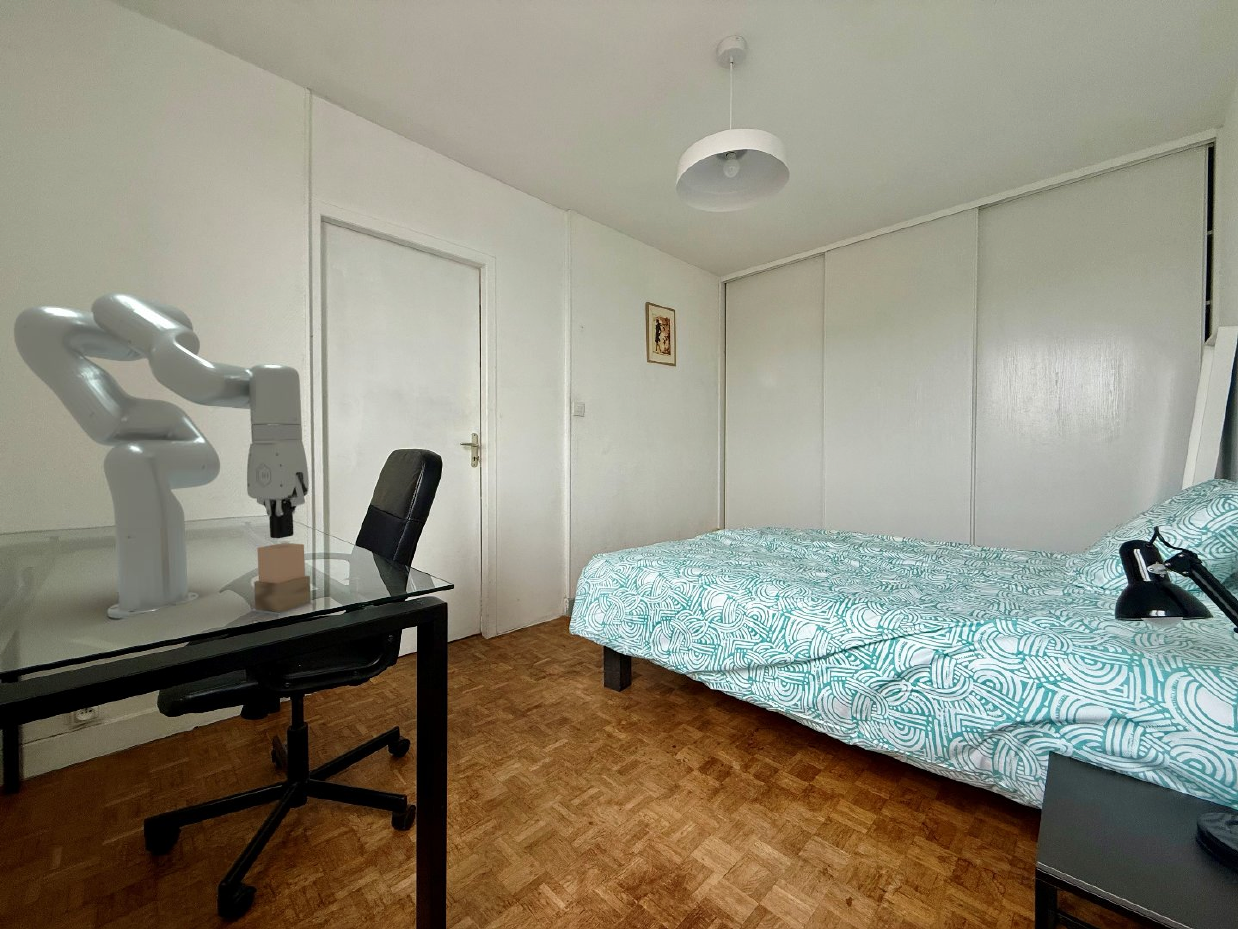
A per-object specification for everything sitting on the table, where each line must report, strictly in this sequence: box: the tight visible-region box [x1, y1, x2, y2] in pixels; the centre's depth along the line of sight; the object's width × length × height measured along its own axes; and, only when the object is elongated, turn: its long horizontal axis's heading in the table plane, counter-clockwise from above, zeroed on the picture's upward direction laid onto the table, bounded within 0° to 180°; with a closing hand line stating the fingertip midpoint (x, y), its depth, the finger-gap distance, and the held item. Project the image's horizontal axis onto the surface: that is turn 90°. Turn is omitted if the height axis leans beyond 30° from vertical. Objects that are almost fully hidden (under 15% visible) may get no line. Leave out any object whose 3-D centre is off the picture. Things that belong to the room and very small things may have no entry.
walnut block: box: [253, 575, 312, 613], centre depth 91 cm, size 6×6×5 cm
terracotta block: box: [257, 542, 306, 584], centre depth 91 cm, size 5×5×6 cm
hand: (282, 536), depth 91 cm, fingers closed
